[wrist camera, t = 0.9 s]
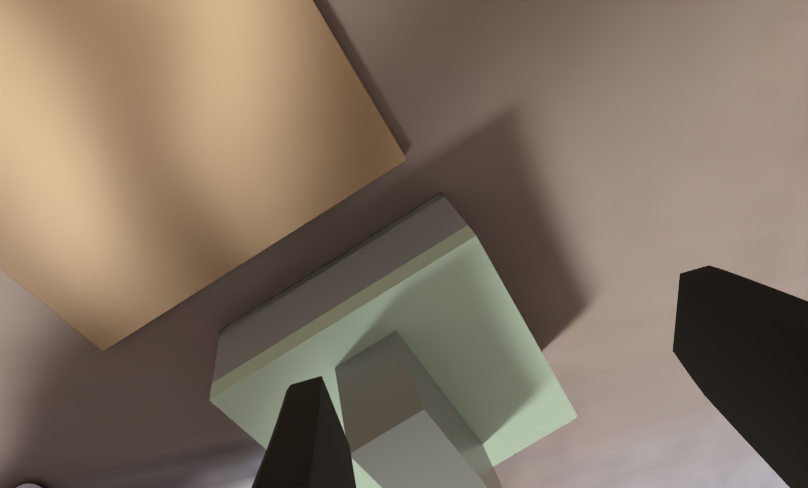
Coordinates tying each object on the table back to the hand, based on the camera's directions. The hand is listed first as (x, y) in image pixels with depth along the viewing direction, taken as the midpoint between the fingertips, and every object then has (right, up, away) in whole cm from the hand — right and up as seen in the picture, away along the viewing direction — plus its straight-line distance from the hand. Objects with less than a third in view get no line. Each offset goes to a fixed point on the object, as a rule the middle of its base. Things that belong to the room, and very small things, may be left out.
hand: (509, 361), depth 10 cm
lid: (-2, -3, +10) cm, 11 cm away
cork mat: (-11, +7, +5) cm, 14 cm away
